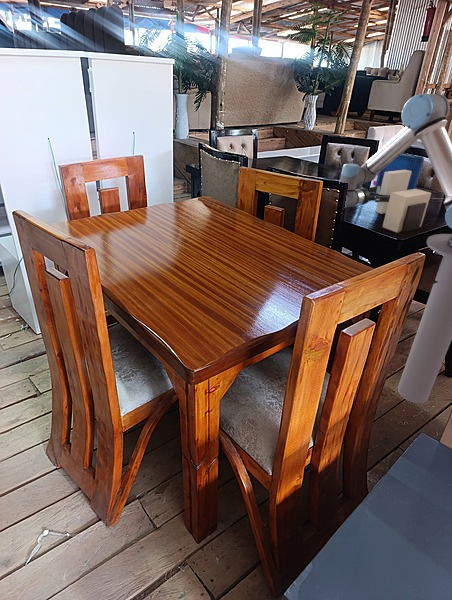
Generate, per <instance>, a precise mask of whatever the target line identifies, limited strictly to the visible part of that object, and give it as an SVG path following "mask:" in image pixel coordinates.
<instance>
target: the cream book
mask: <svg viewBox="0 0 452 600" xmlns="http://www.w3.org/2000/svg"><path fill="white" fill-rule="evenodd" d="M411 172H412V171H409V170H397V171H389V172H385V173H384V177H383V181H382V186H381V190H380V194H381V195H391V193H392V192H399V191H405V190H407V187H408V183H409V179H410V176H411ZM388 203H389V202H376V208H375V213H377V214H381V215H382V214H386V211H387V207H388Z"/></svg>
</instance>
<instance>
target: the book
mask: <svg viewBox="0 0 452 600" xmlns="http://www.w3.org/2000/svg"><path fill="white" fill-rule="evenodd" d="M424 161H425V158H424V156H418V155H415V154H412V153H406V152H403V153H401V154H400V155H399V156H398V157H397V158H396V159H394V160H393V161H392V162H391V163H390V164H388V165H387V166H386V167H385V168H384V169H382V170H381V171H380V172H379V173H378V177H377V181H376V185H375V187H377V191H376V192H374V193H378V194H380V190H381V186H382V181H383V177H384V173H385V172H389V171H397V170H409V171H412V172H411V176H410V179H409V183H408V187H407V190H411V189H417V188H416V187H417V185H418V181H419V177H420V174H421V171H422V167H423V165H424ZM375 197H376V195H375Z"/></svg>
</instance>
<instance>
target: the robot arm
mask: <svg viewBox="0 0 452 600" xmlns="http://www.w3.org/2000/svg"><path fill="white" fill-rule="evenodd" d="M450 109H451V106H450V101H449V100H448V98H447V97H446V96H445V95H443V94H440V93H426V92H425V93H419V94H416V95H413V96H412V97H410V98H409V99H408V100H407V101H406V102H405V104H404V106H403V107H402V110H401V114H400V115H401V117H400V118H401V122H402V125H403V126H404V127H403V129H401V130H400V131H399V132H398V133H397V134H396V135H394V136H393V137H392V138H391V139H390V140H389V141H388V142H386V144H384V145H383V146H382V147H381V148H380V149H379V150H378V151H377V152H375V154H373V155H372V156H371V157H370V158H369V159H368V160H367V161H365V163H363V164H362V165H361V166H360V165H359V164H356V163H345V164H343V166H342V169H341V172H340V178H339V182H340V181H341V182H345V183H348V189H347V195H346V201H345V207H344V208H343V209H346V208H354V207H356V206H363V205H367V204H368V203H369V202H375V203H377V202H389V199H390V195H381V194H378V193H374V192H376V191H377V187H372V186H371V187H368V185H365V186H361V187H359V188H357V185H361V184H366V183H371V182H372V181H374V179H375V177H376V175H377V174H378V173H379V172H380V171H381V170H382V169H384V168H385V167H386V166H387V165H388V164H390V163H391V162H392V161H393V160H394V159H396V158H397V157H398V156H399V155H400V154H401V153H405V151H407V150H408V149H409V148H410V147H411V146H413V145H414V144H415V143H416V142H417V141H418V140H419V141H420V142H421V143H422V146H423V148H424V151H425V153H426V155H427V157H428V159H429V162H430V164H431V166H432V169H433V171H434V173H435V176H436V178H437V181H438V182H439V186H440V188H441V190H442V192H443V194H444V197H445V199H444V201H443V206H444V208H445V210H446V211H445V214H444V219H445V220H444V221H445V223H446V225H447V227H449V228H450V229H451V230H452V141H451V138H450V135H449V134H448V131H447V129H446V127H447V123H448V119H447V118H448V116H449V115H450V111H451V110H450ZM375 195H376V197H375ZM447 245H448V246H450V247H451V248H452V235H451V236H450V237H449V239H448V242H447Z"/></svg>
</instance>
